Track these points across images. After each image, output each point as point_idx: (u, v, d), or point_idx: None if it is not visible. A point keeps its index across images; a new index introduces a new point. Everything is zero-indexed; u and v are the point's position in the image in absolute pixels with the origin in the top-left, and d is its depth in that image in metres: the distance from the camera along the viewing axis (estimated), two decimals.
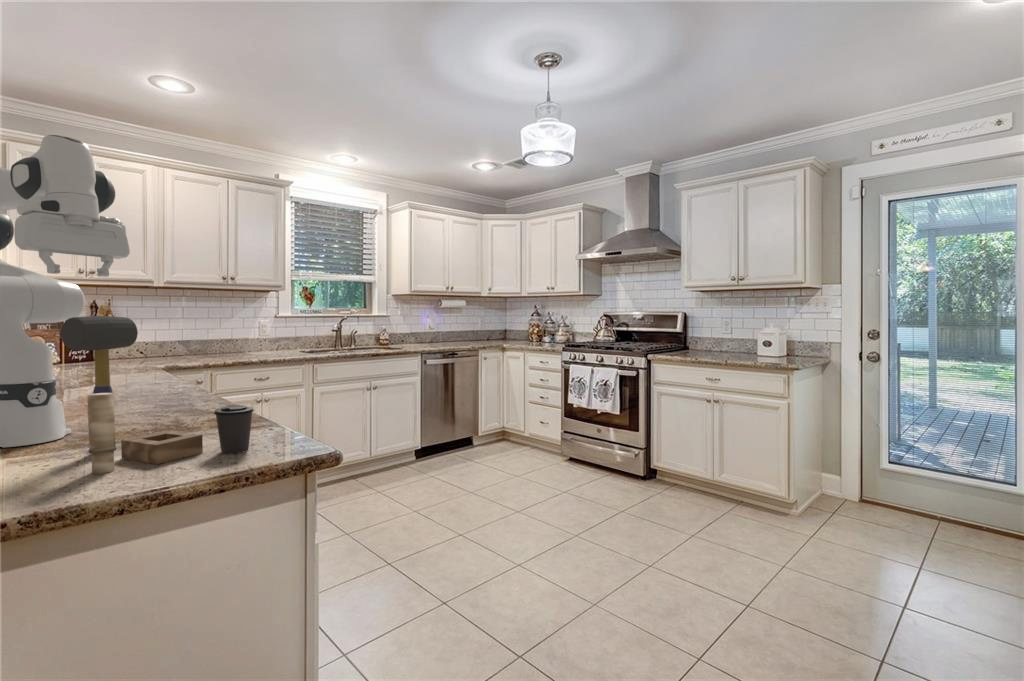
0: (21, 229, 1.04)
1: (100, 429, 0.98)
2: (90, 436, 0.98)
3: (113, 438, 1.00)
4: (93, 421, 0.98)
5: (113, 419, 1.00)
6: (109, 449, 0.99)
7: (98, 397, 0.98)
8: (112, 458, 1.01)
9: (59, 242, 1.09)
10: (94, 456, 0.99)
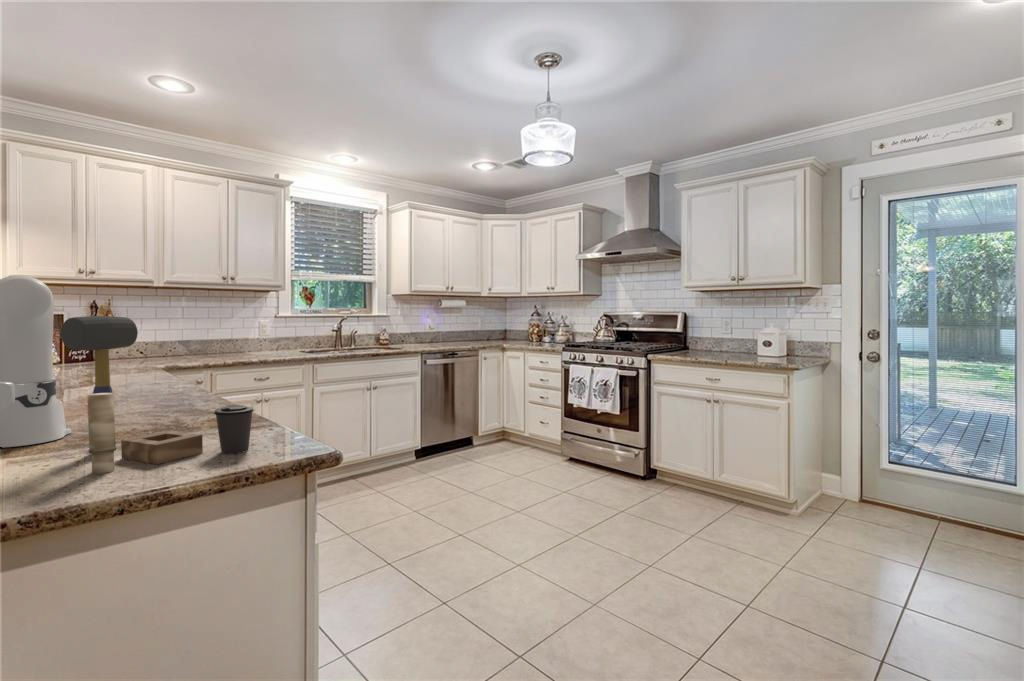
0: None
1: (100, 429, 0.98)
2: (90, 436, 0.98)
3: (113, 438, 1.00)
4: (93, 421, 0.98)
5: (113, 419, 1.00)
6: (109, 449, 0.99)
7: (98, 397, 0.98)
8: (112, 458, 1.01)
9: None
10: (94, 456, 0.99)
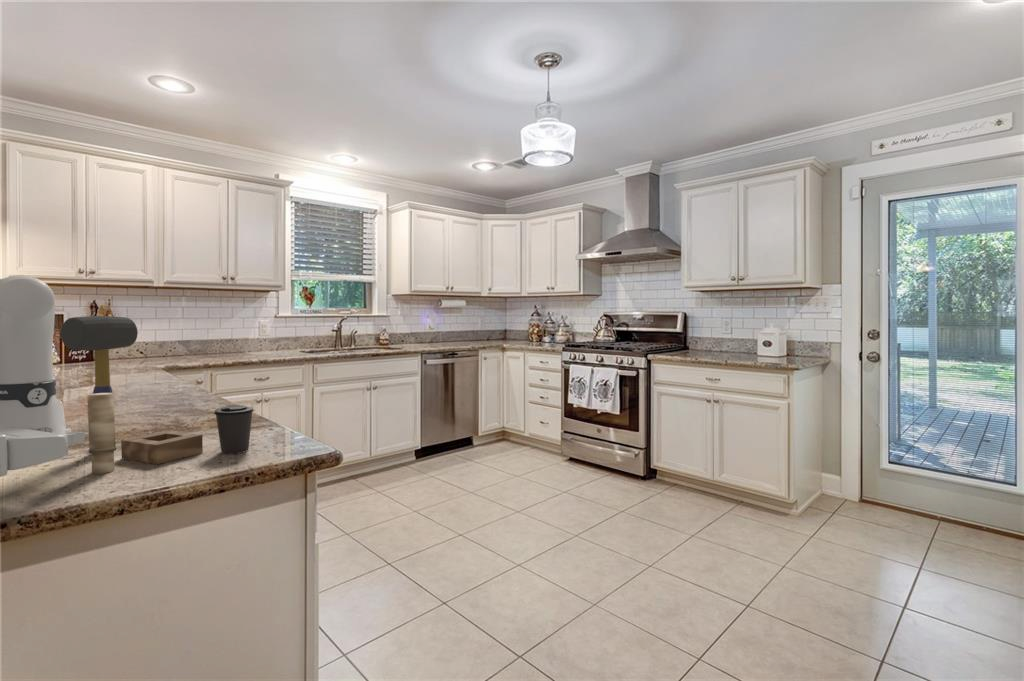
0: (43, 446, 0.83)
1: (100, 429, 0.98)
2: (90, 436, 0.98)
3: (113, 438, 1.00)
4: (93, 421, 0.98)
5: (113, 419, 1.00)
6: (109, 449, 0.99)
7: (98, 397, 0.98)
8: (112, 458, 1.01)
9: (37, 433, 0.87)
10: (94, 456, 0.99)
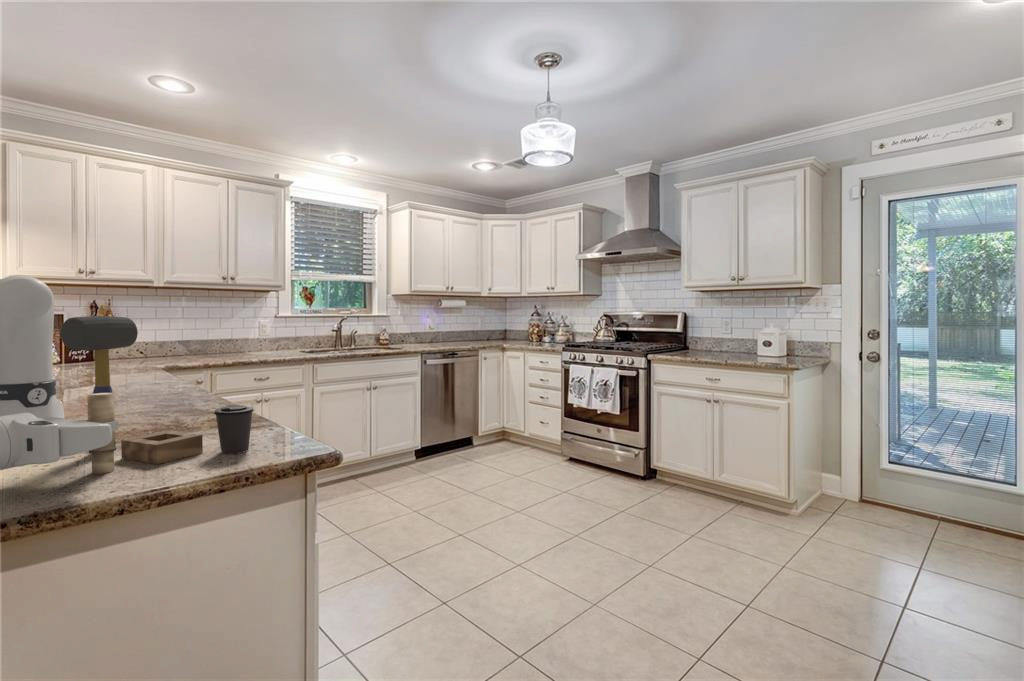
0: (90, 434, 0.89)
1: None
2: None
3: (113, 438, 1.00)
4: (93, 421, 0.98)
5: (113, 419, 1.00)
6: (109, 449, 0.99)
7: (98, 397, 0.98)
8: (112, 458, 1.01)
9: (83, 422, 0.93)
10: (94, 456, 0.99)
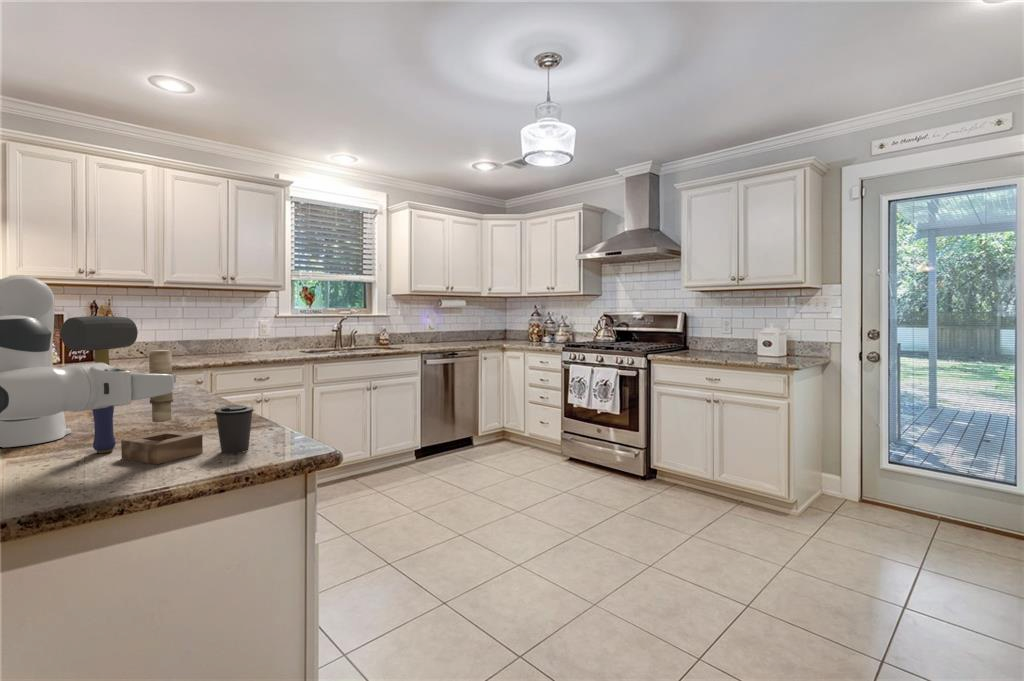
0: (157, 382, 1.00)
1: None
2: None
3: None
4: None
5: (171, 373, 1.11)
6: (168, 400, 1.10)
7: (159, 352, 1.09)
8: (170, 408, 1.11)
9: (147, 373, 1.04)
10: (154, 406, 1.10)
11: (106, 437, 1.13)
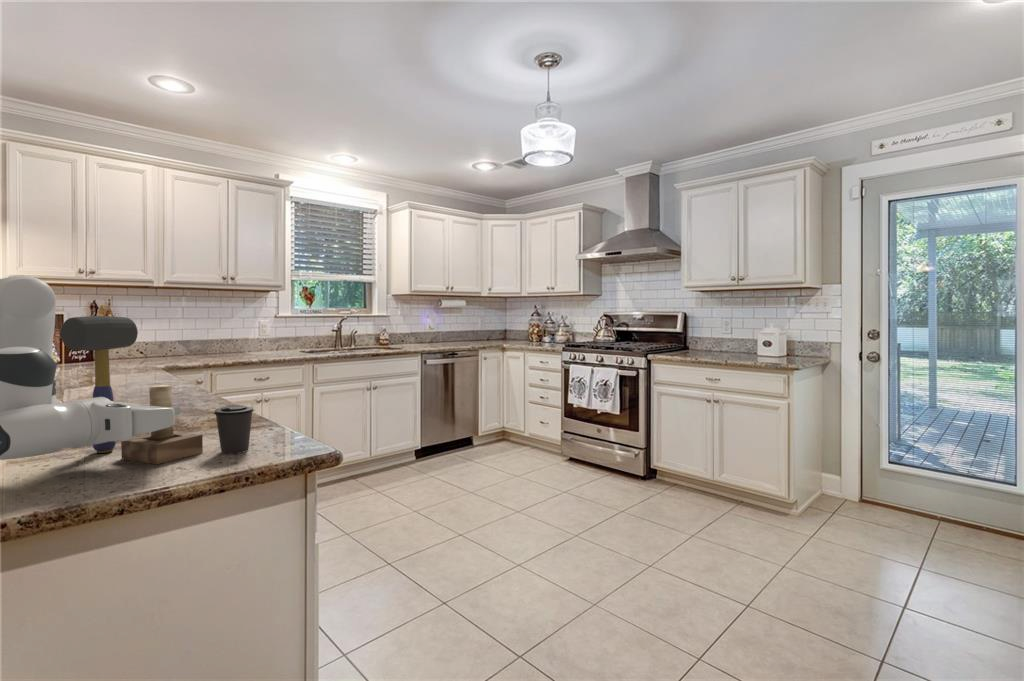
0: (158, 416, 1.01)
1: None
2: None
3: (171, 426, 1.12)
4: None
5: None
6: (168, 435, 1.11)
7: (159, 389, 1.09)
8: None
9: (148, 406, 1.05)
10: None
11: None
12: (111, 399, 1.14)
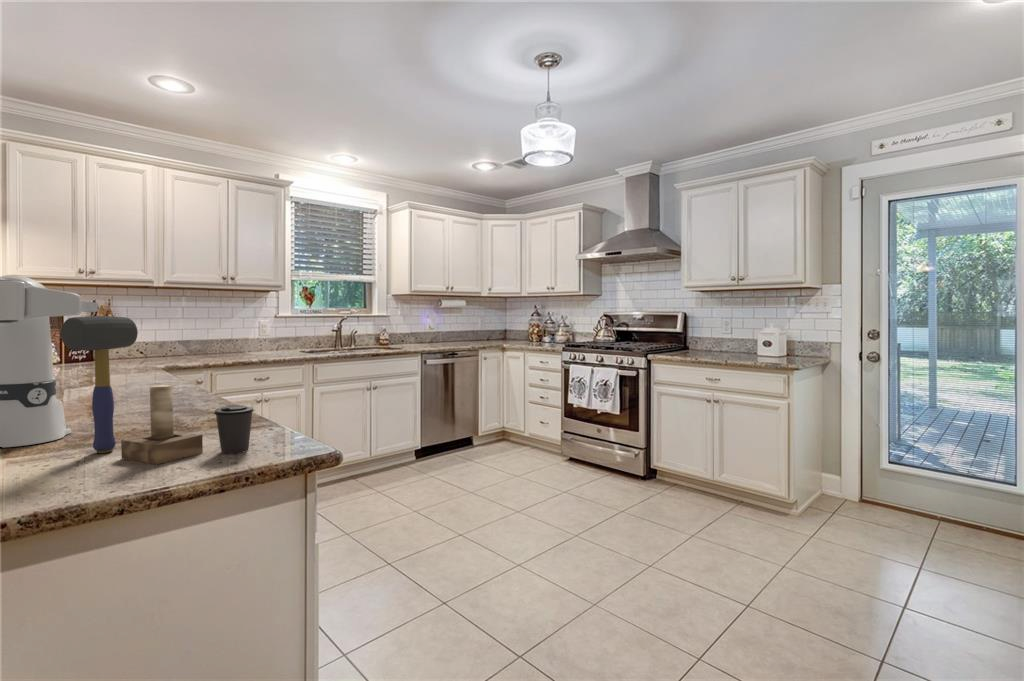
0: (58, 299, 0.88)
1: (161, 418, 1.10)
2: (152, 423, 1.10)
3: (172, 426, 1.12)
4: (155, 410, 1.09)
5: (172, 409, 1.12)
6: (169, 435, 1.11)
7: (159, 389, 1.09)
8: None
9: None
10: None
11: (106, 437, 1.13)
12: (111, 399, 1.14)
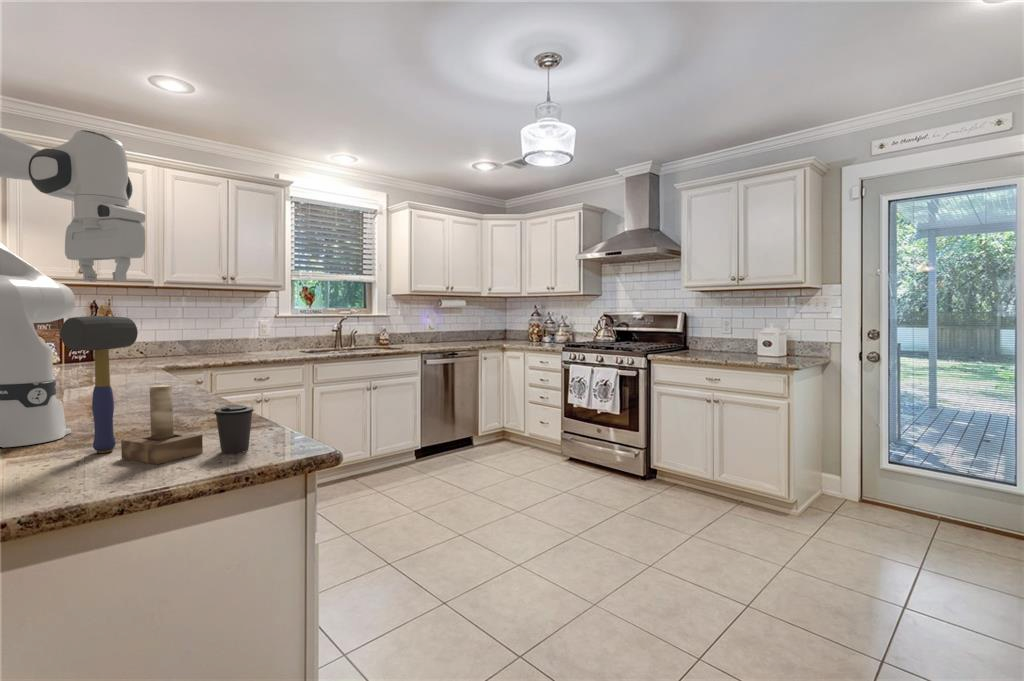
0: (138, 239, 1.04)
1: (161, 418, 1.10)
2: (152, 423, 1.10)
3: (172, 426, 1.12)
4: (155, 410, 1.09)
5: (171, 409, 1.12)
6: (168, 435, 1.11)
7: (159, 389, 1.09)
8: None
9: None
10: None
11: (106, 437, 1.13)
12: (111, 399, 1.14)
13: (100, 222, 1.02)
